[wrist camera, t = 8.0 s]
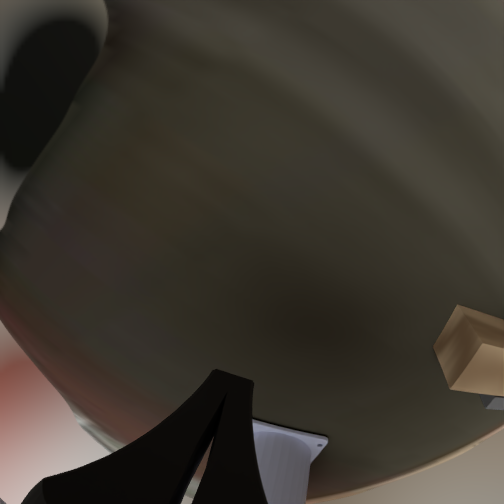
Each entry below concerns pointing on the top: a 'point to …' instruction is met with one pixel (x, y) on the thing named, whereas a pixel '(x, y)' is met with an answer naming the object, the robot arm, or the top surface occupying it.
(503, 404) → the end cap
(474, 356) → the brown wooden block
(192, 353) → the top surface
